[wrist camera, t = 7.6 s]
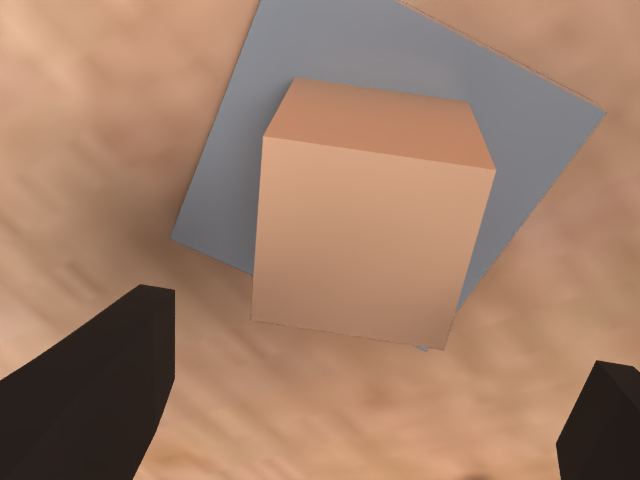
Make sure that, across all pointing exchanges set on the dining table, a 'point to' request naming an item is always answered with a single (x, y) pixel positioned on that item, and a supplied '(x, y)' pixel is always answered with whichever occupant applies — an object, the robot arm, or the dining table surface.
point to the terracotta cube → (368, 212)
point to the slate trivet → (388, 74)
